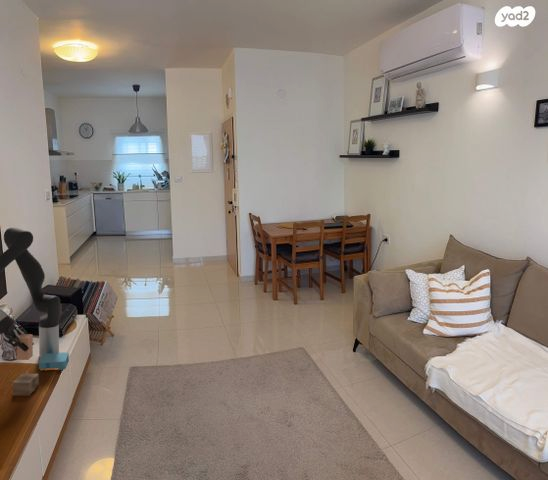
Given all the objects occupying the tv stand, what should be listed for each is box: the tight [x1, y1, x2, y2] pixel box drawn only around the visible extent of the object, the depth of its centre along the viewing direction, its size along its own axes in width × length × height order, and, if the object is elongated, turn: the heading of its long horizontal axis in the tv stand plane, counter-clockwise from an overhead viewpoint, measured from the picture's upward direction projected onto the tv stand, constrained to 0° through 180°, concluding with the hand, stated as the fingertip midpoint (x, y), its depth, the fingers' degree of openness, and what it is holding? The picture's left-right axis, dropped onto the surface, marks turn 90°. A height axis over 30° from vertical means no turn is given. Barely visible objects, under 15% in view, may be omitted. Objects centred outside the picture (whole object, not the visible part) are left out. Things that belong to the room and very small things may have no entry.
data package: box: [38, 352, 70, 371], centre depth 222 cm, size 12×4×12 cm
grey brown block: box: [12, 373, 40, 396], centre depth 196 cm, size 9×7×6 cm
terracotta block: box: [16, 333, 34, 361], centre depth 194 cm, size 5×5×10 cm
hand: (29, 347), depth 194 cm, fingers closed on terracotta block, 4 cm apart
